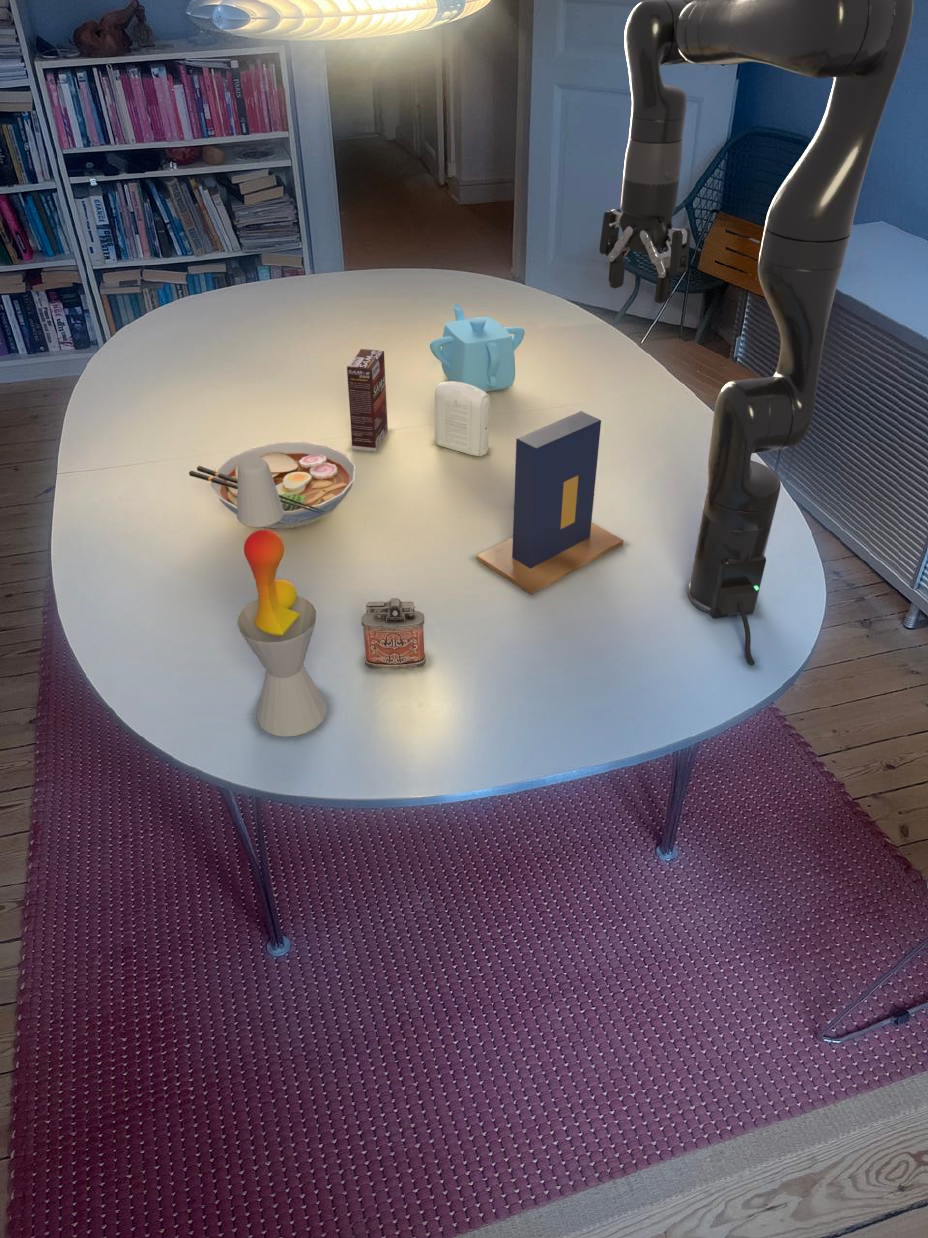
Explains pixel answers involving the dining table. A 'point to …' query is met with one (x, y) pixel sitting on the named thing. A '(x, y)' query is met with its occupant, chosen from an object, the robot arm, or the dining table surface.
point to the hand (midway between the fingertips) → (638, 294)
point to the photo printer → (462, 418)
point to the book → (554, 487)
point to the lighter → (393, 635)
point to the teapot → (478, 351)
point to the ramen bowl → (291, 479)
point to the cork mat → (551, 568)
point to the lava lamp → (275, 613)
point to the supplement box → (367, 400)
